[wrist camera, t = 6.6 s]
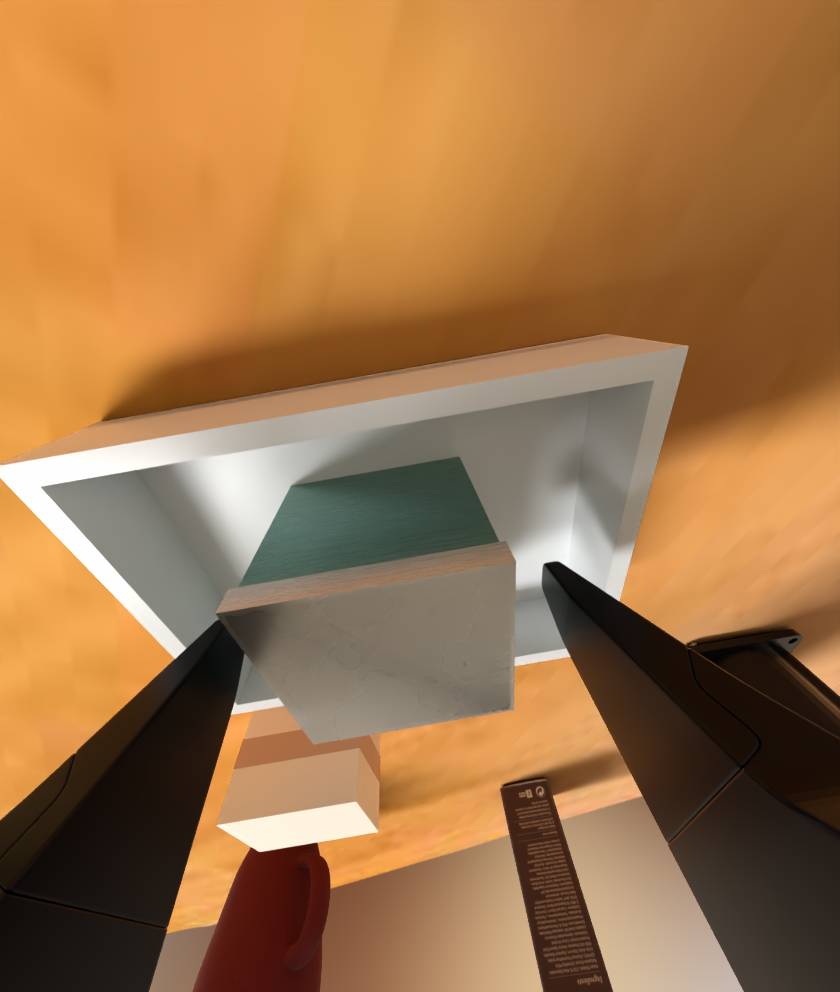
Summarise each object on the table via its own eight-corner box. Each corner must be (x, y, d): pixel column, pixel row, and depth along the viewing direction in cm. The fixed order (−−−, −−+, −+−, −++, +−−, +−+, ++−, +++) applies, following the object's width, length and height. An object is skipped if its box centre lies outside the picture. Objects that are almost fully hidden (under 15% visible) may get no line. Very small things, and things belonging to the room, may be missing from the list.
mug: (275, 790, 24) (214, 1059, 16) (368, 803, 27) (359, 1034, 18) (225, 835, 28) (154, 1068, 19) (310, 841, 31) (281, 1046, 22)
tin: (472, 578, 13) (513, 710, 9) (337, 601, 13) (313, 744, 9) (462, 453, 10) (516, 561, 6) (286, 483, 10) (215, 613, 6)
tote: (606, 333, 9) (689, 345, 7) (568, 591, 15) (605, 650, 13) (98, 421, 9) (-10, 467, 7) (255, 645, 15) (229, 715, 13)
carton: (363, 681, 18) (356, 801, 13) (380, 719, 20) (379, 832, 16) (256, 699, 18) (215, 825, 13) (286, 735, 20) (259, 852, 16)
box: (495, 786, 28) (558, 1072, 17) (546, 775, 27) (642, 1059, 17) (502, 807, 31) (560, 1060, 21) (549, 798, 31) (630, 1049, 20)
